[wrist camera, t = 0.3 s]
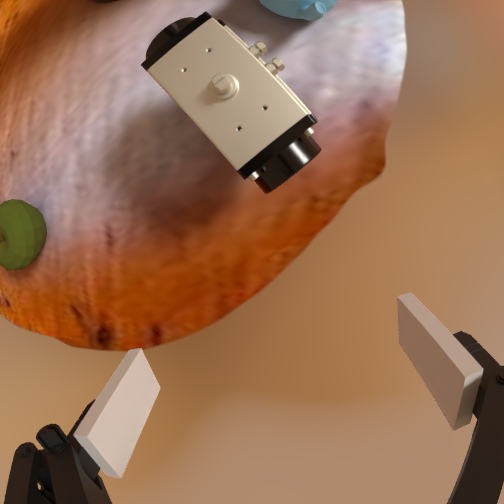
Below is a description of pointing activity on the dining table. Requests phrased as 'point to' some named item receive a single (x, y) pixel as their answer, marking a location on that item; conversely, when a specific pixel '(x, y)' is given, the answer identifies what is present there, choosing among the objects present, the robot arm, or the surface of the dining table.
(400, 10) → the dining table surface
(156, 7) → the dining table surface
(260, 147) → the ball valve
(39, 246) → the apple
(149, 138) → the dining table surface
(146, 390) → the robot arm
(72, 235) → the dining table surface
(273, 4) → the teapot
